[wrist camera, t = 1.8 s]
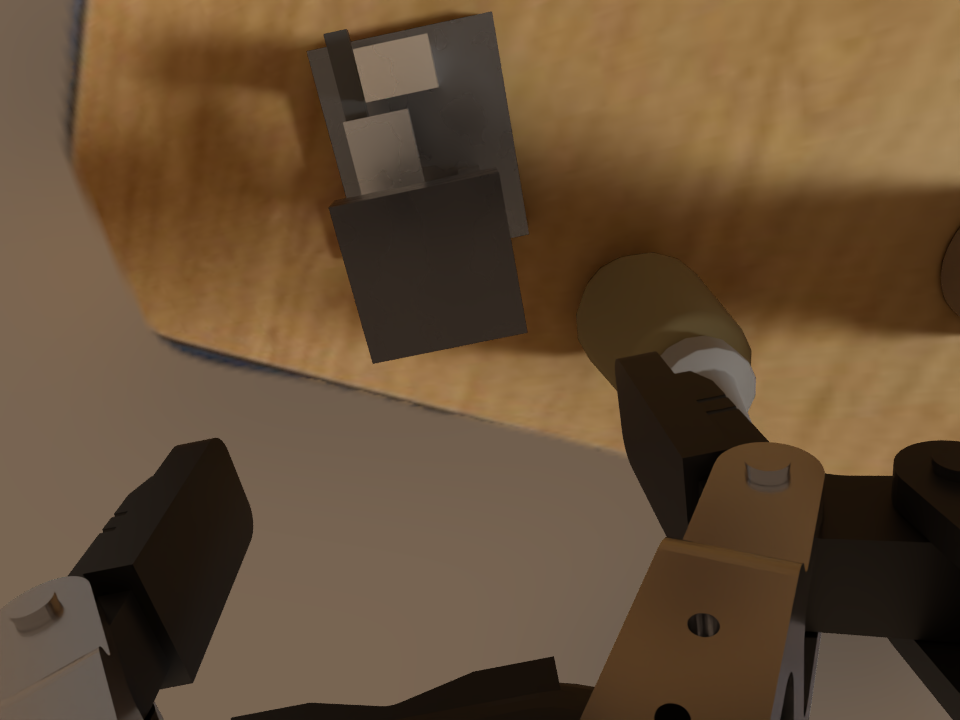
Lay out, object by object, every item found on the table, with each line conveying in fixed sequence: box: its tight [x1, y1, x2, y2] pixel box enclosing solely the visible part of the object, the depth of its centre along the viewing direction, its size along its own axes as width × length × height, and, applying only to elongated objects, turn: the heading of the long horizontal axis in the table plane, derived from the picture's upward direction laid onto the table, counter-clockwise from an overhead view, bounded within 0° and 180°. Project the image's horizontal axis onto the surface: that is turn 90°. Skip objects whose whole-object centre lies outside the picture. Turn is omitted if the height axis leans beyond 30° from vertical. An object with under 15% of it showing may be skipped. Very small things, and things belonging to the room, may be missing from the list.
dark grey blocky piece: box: [329, 108, 528, 364], centre depth 28 cm, size 8×6×10 cm
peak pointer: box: [324, 29, 369, 121], centre depth 30 cm, size 6×1×1 cm, turn 11°
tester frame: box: [307, 12, 529, 238], centre depth 33 cm, size 12×10×12 cm
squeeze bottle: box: [576, 252, 756, 423], centre depth 35 cm, size 8×8×18 cm
